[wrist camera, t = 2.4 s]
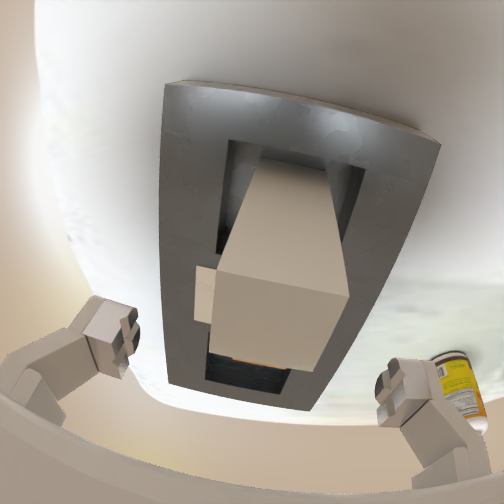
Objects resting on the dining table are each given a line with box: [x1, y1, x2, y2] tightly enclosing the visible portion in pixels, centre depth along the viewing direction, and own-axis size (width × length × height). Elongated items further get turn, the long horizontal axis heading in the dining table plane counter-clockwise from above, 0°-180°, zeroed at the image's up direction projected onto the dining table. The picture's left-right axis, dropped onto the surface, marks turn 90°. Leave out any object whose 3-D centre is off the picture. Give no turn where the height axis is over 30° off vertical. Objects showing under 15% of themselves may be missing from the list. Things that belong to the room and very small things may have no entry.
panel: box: [159, 80, 441, 411], centre depth 20 cm, size 24×13×3 cm, turn 171°
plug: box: [209, 158, 349, 372], centre depth 14 cm, size 4×4×10 cm
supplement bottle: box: [432, 353, 488, 440], centre depth 21 cm, size 6×6×10 cm
